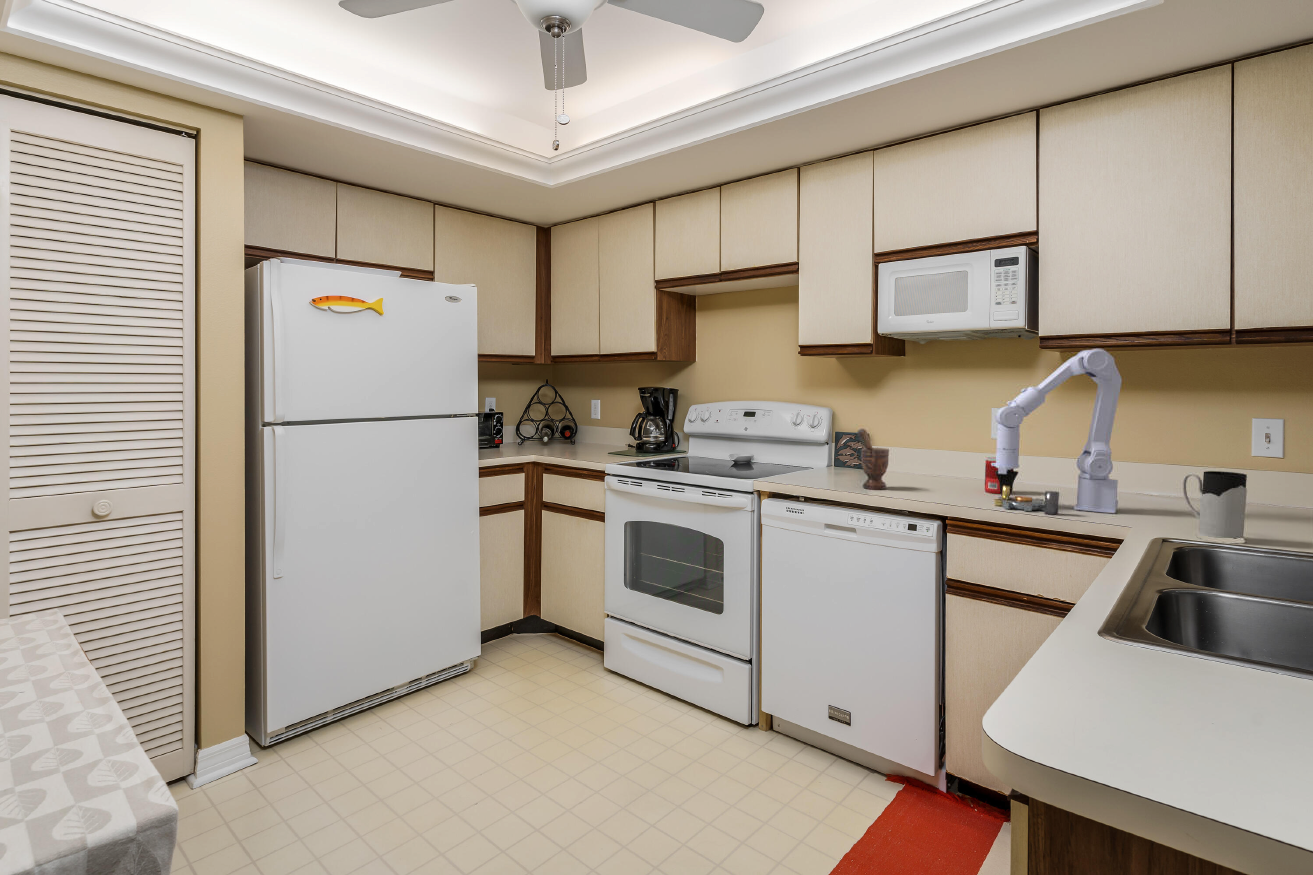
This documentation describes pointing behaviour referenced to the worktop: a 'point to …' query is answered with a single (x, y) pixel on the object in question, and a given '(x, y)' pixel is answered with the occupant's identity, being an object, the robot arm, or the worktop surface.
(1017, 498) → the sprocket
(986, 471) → the canned food
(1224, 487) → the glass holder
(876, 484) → the mortar and pestle
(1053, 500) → the roller
